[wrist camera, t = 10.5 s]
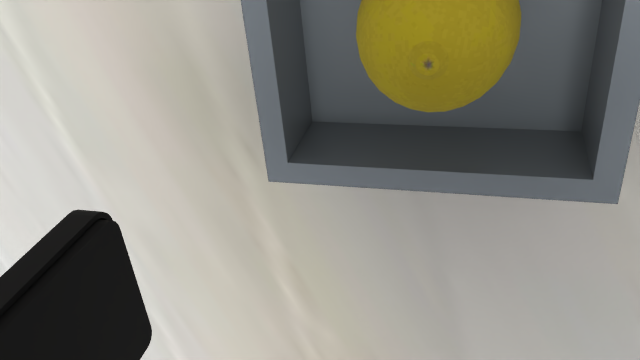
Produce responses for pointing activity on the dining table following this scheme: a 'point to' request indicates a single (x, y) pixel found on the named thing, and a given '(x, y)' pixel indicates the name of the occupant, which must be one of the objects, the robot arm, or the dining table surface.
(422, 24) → the lemon
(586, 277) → the dining table surface
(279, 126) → the grey shallow tray
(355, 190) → the dining table surface
